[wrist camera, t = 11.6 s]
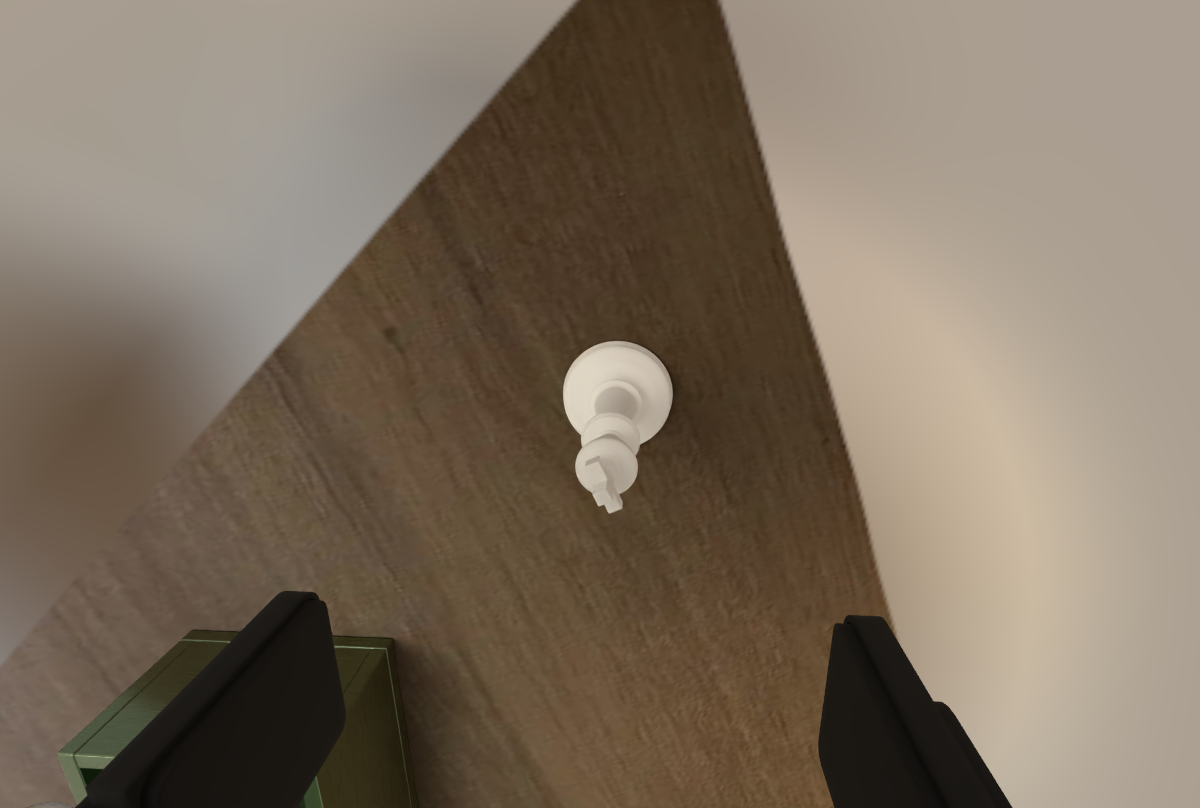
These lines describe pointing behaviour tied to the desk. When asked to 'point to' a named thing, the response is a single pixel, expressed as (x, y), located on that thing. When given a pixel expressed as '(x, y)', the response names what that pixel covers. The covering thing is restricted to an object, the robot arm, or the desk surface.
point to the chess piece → (614, 414)
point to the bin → (352, 769)
